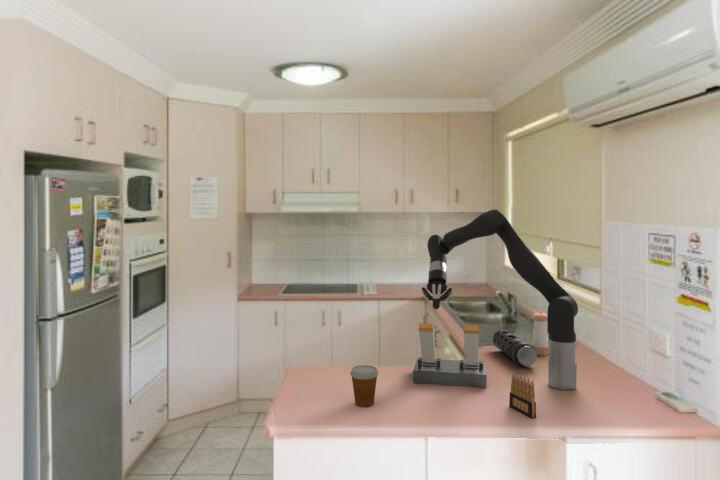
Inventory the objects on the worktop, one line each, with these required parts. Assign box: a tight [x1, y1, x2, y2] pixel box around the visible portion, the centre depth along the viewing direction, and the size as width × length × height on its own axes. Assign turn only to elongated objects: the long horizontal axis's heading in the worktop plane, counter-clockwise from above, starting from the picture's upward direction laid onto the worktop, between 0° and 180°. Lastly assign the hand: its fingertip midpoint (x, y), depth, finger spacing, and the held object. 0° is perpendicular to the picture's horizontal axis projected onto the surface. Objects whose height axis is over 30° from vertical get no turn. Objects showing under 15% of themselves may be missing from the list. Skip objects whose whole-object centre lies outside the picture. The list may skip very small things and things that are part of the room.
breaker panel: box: [412, 356, 488, 389], centre depth 199 cm, size 16×27×7 cm, turn 77°
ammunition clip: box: [508, 371, 537, 420], centre depth 166 cm, size 11×2×12 cm, turn 23°
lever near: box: [463, 324, 480, 367], centre depth 189 cm, size 2×5×24 cm
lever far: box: [418, 322, 437, 365], centre depth 193 cm, size 2×5×24 cm
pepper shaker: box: [531, 310, 549, 356], centre depth 232 cm, size 7×7×19 cm
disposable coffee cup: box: [350, 364, 379, 408], centre depth 174 cm, size 10×10×12 cm
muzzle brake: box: [492, 329, 538, 367], centre depth 223 cm, size 10×28×10 cm, turn 6°
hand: (435, 308), depth 207 cm, fingers closed
